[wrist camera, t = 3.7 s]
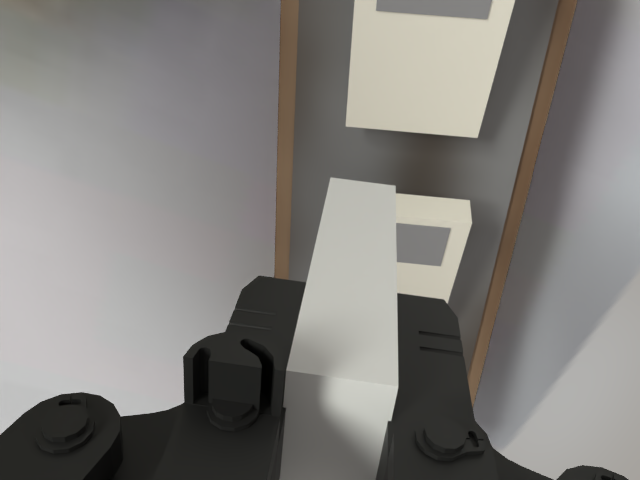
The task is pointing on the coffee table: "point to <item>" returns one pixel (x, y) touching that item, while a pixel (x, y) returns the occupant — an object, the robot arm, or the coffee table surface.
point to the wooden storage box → (416, 149)
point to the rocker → (424, 64)
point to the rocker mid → (430, 243)
